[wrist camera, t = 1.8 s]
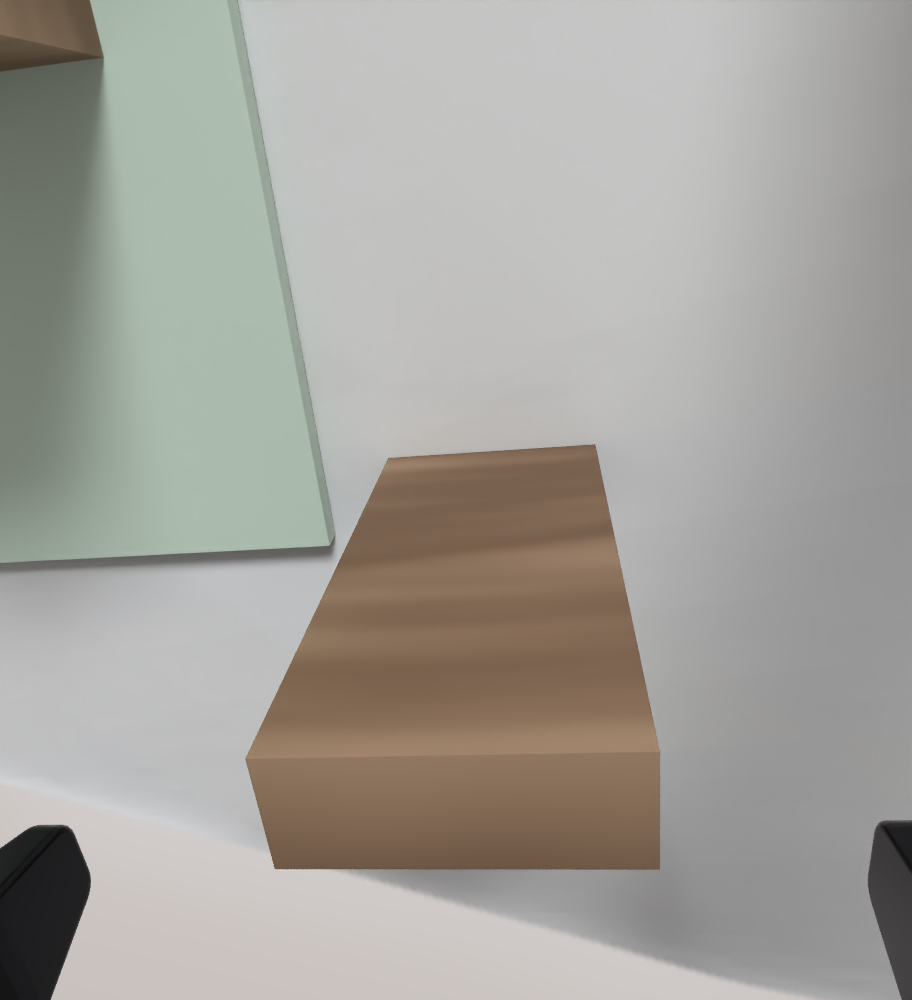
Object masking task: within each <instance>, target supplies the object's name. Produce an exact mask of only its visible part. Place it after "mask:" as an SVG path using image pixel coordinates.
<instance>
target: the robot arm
mask: <svg viewBox="0 0 912 1000" xmlns="http://www.w3.org/2000/svg"><path fill="white" fill-rule="evenodd" d="M90 884H91V878H90V872H89V869H88V867H87V864H86V862H85V859H84V857H83V854H82V852H81V850H80V847H79V844H78V842H77V839H76V837H75V835H74V833H73V831H72V830H71V829H70V828H69V827H68V826H65V825H37V826H33V827H30V828H29V829H27V830H25V831H24V832H23V833H21V834H20V835H18V836H17V837H15V838H14V839H13V840H11V841H10V842H8V843H7V844H6V845H4V846H3V847H1V848H0V1000H51V997H52V994H53V992H54V989H55V986H56V984H57V981H58V978H59V975H60V973H61V970H62V967H63V965H64V962H65V959H66V956H67V954H68V951H69V948H70V945H71V943H72V940H73V937H74V934H75V932H76V929H77V926H78V923H79V921H80V918H81V916H82V913H83V910H84V907H85V905H86V902H87V899H88V896H89V892H90ZM868 888H869V894H870V899H871V903H872V906H873V909H874V912H875V916H876V919H877V922H878V925H879V928H880V932H881V935H882V938H883V941H884V944H885V948H886V951H887V954H888V957H889V960H890V964H891V967H892V970H893V973H894V976H895V980H896V983H897V986H898V989H899V992H900V996H901V999H902V1000H912V820H911V821H882V822H880V823H878V825H877V826H876V829H875V832H874V839H873V846H872V853H871V859H870V866H869V873H868Z"/></svg>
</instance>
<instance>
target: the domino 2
mask: <svg viewBox="0 0 912 1000" xmlns="http://www.w3.org/2000/svg"><path fill="white" fill-rule="evenodd" d="M246 763H247V767H248V770H249V774H250V778H251V782H252V785H253V789H254V793H255V796H256V800H257V804H258V808H259V811H260V815H261V819H262V823H263V826H264V830H265V834H266V837H267V841H268V845H269V849H270V852H271V856H272V860H273V863H274V867H275V869H660V751H659V746H658V741H657V736H656V732H655V727H654V722H653V717H652V713H651V708H650V703H649V698H648V694H647V689H646V684H645V679H644V675H643V670H642V665H641V660H640V656H639V651H638V646H637V641H636V637H635V632H634V627H633V622H632V618H631V613H630V608H629V603H628V599H627V594H626V589H625V584H624V580H623V575H622V570H621V565H620V561H619V556H618V551H617V546H616V542H615V537H614V532H613V527H612V523H611V518H610V513H609V508H608V504H607V499H606V494H605V489H604V485H603V480H602V475H601V470H600V465H599V461H598V456H597V451H596V446H595V445H582V446H567V447H552V448H537V449H521V450H506V451H491V452H476V453H461V454H445V455H430V456H415V457H400V458H388V460H387V462H386V464H385V466H384V469H383V471H382V473H381V475H380V477H379V479H378V481H377V483H376V485H375V487H374V490H373V492H372V494H371V496H370V498H369V500H368V502H367V504H366V506H365V508H364V511H363V513H362V515H361V517H360V519H359V521H358V523H357V525H356V527H355V530H354V532H353V534H352V536H351V538H350V540H349V542H348V544H347V546H346V548H345V551H344V553H343V555H342V557H341V559H340V561H339V563H338V565H337V567H336V569H335V572H334V574H333V576H332V578H331V580H330V582H329V584H328V586H327V588H326V591H325V593H324V595H323V597H322V599H321V601H320V603H319V605H318V607H317V609H316V612H315V614H314V616H313V618H312V620H311V622H310V624H309V626H308V628H307V630H306V633H305V635H304V637H303V639H302V641H301V643H300V645H299V647H298V649H297V651H296V654H295V656H294V658H293V660H292V662H291V664H290V666H289V668H288V670H287V673H286V675H285V677H284V679H283V681H282V683H281V685H280V687H279V689H278V691H277V694H276V696H275V698H274V700H273V702H272V704H271V706H270V708H269V710H268V712H267V715H266V717H265V719H264V721H263V723H262V725H261V727H260V729H259V731H258V734H257V736H256V738H255V740H254V742H253V744H252V746H251V748H250V750H249V752H248V755H247V757H246Z"/></svg>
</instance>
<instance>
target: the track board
mask: <svg viewBox="0 0 912 1000" xmlns="http://www.w3.org/2000/svg"><path fill="white" fill-rule="evenodd" d="M90 3H91V7H92V11H93V15H94V19H95V23H96V27H97V31H98V35H99V39H100V43H101V47H102V51H103V55H104V58H97V59H89V60H82V61H75V62H67V63H60V64H53V65H46V66H38V67H31V68H24V69H16V70H9V71H2V72H0V563H8V562H27V561H47V560H66V559H85V558H104V557H124V556H143V555H162V554H181V553H200V552H220V551H239V550H258V549H277V548H296V547H316V546H330V544H331V542H332V540H333V538H334V536H335V530H334V525H333V520H332V514H331V509H330V503H329V498H328V492H327V487H326V481H325V476H324V470H323V465H322V460H321V454H320V449H319V443H318V438H317V432H316V427H315V421H314V416H313V410H312V405H311V400H310V394H309V389H308V383H307V378H306V372H305V367H304V361H303V356H302V350H301V345H300V340H299V334H298V329H297V323H296V318H295V312H294V307H293V301H292V296H291V290H290V285H289V279H288V274H287V269H286V263H285V258H284V252H283V247H282V241H281V236H280V230H279V225H278V219H277V214H276V209H275V203H274V198H273V192H272V187H271V181H270V176H269V170H268V165H267V159H266V154H265V149H264V143H263V138H262V132H261V127H260V121H259V116H258V110H257V105H256V99H255V94H254V89H253V83H252V78H251V72H250V67H249V61H248V56H247V50H246V45H245V39H244V34H243V28H242V23H241V18H240V12H239V7H238V1H237V0H90Z"/></svg>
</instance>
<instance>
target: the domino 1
mask: <svg viewBox="0 0 912 1000" xmlns="http://www.w3.org/2000/svg"><path fill="white" fill-rule="evenodd" d="M97 58H104V55H103V51H102V47H101V43H100V39H99V35H98V31H97V27H96V23H95V19H94V15H93V11H92V7H91V3H90V0H0V72H2V71H9V70H16V69H24V68H31V67H38V66H46V65H53V64H60V63H67V62H75V61H82V60H89V59H97Z"/></svg>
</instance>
